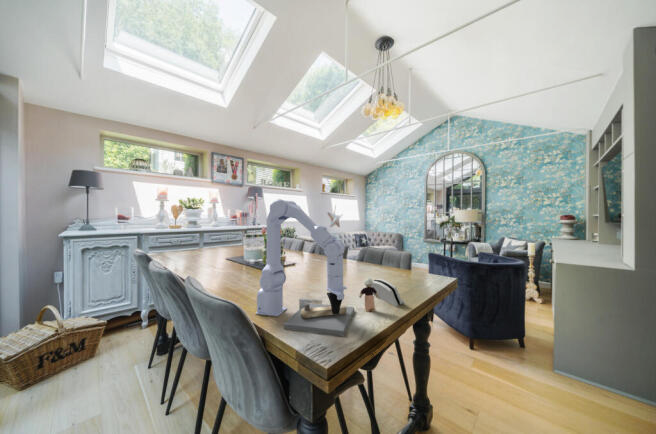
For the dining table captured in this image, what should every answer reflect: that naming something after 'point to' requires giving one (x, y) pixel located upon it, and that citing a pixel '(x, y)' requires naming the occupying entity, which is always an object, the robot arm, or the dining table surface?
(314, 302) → the keeper
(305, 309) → the link
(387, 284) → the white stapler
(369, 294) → the grandmother figurine
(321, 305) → the board
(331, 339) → the dining table surface
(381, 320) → the dining table surface
